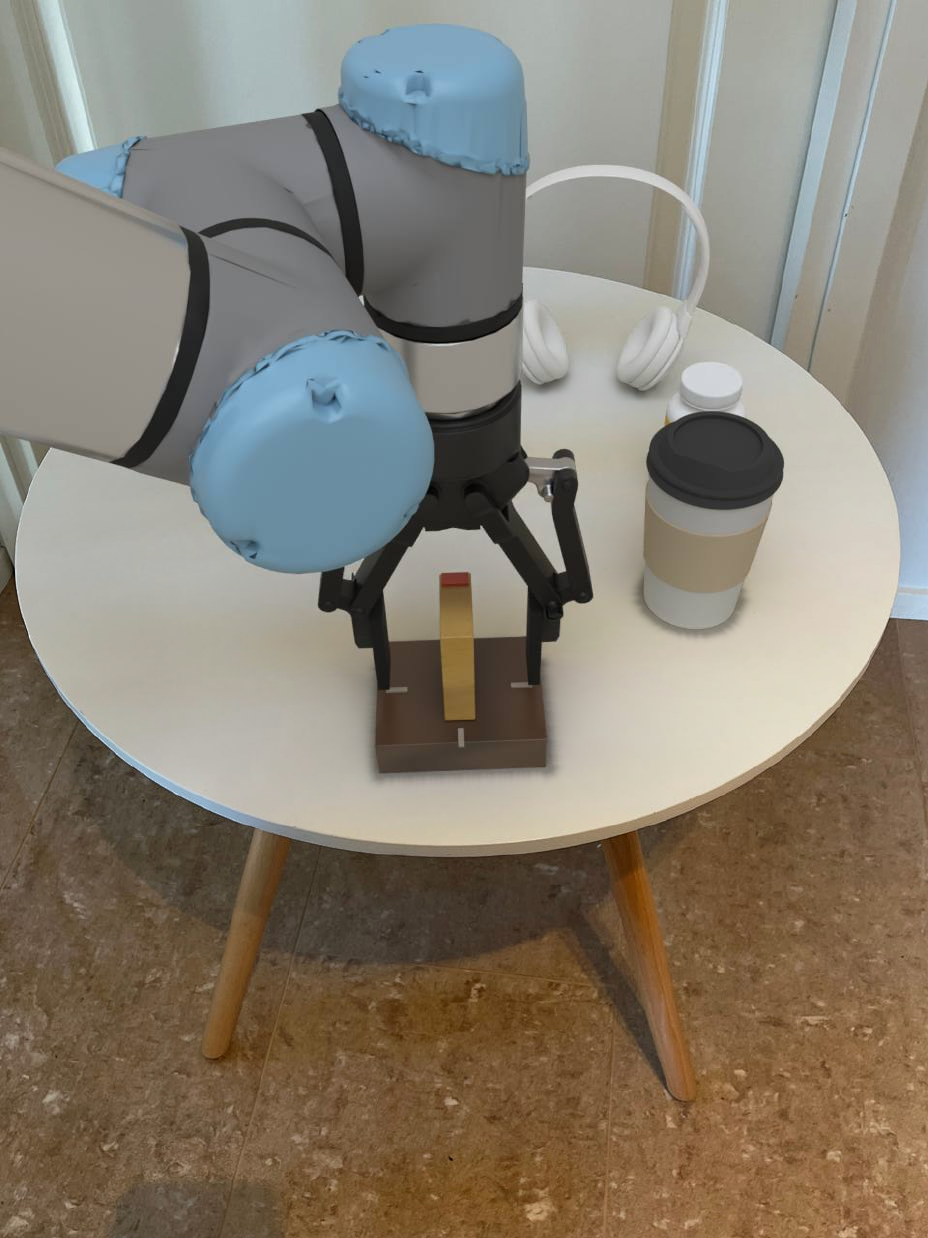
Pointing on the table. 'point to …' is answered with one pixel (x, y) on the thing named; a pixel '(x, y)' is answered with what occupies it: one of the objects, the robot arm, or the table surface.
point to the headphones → (653, 336)
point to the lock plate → (490, 741)
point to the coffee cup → (705, 514)
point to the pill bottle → (707, 391)
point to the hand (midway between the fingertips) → (458, 671)
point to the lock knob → (457, 645)
